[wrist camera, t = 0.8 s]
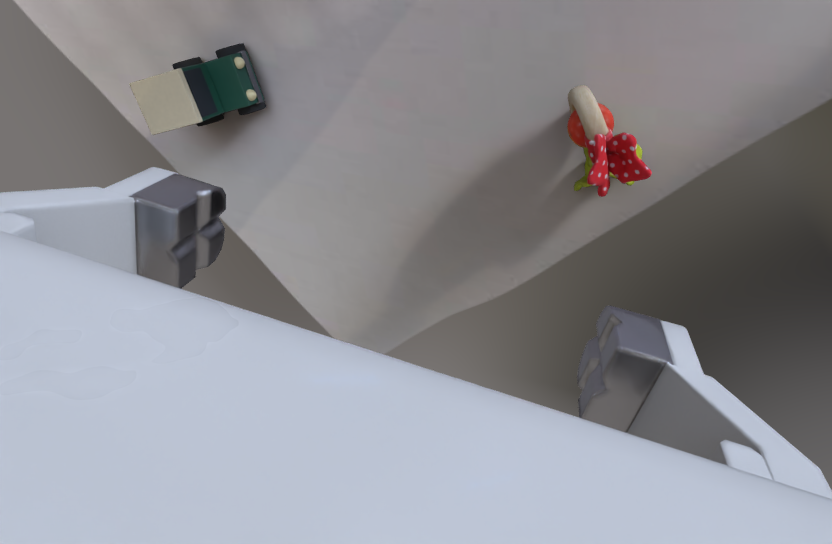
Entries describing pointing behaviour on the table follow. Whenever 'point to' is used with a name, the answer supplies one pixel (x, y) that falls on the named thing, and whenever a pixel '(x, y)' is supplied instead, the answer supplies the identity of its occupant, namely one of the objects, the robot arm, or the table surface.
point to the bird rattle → (602, 144)
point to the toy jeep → (199, 91)
